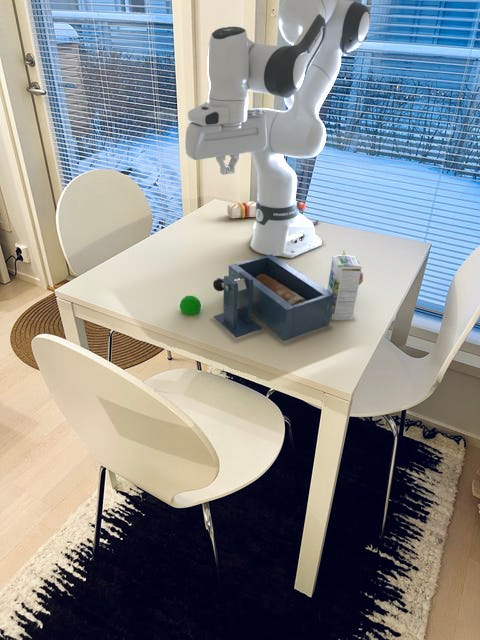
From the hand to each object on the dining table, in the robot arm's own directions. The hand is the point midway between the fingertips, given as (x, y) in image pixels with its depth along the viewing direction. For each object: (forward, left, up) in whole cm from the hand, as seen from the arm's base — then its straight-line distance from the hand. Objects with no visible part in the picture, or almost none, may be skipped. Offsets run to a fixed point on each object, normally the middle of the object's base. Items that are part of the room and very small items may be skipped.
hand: (227, 173), depth 120 cm
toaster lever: (+9, +17, -21) cm, 29 cm away
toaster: (-2, +19, -29) cm, 35 cm away
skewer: (-34, -36, -29) cm, 58 cm away
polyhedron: (+16, +10, -29) cm, 35 cm away
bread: (-2, +19, -27) cm, 33 cm away
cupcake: (-24, +20, -29) cm, 43 cm away
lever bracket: (+9, +20, -29) cm, 36 cm away
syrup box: (-15, +28, -29) cm, 43 cm away
